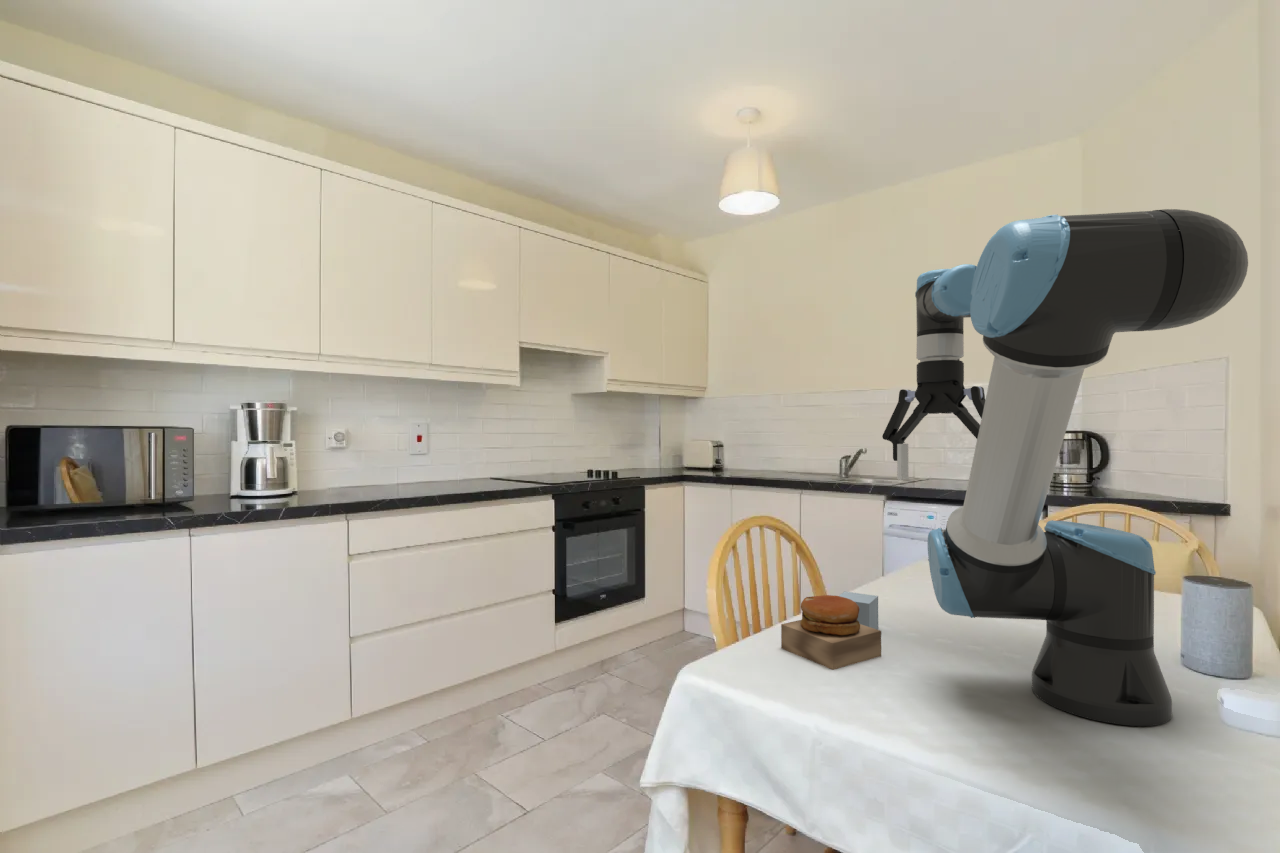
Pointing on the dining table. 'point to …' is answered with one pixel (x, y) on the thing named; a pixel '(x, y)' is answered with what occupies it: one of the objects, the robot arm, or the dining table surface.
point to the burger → (830, 615)
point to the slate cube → (865, 608)
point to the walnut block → (831, 645)
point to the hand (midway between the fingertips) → (940, 481)
